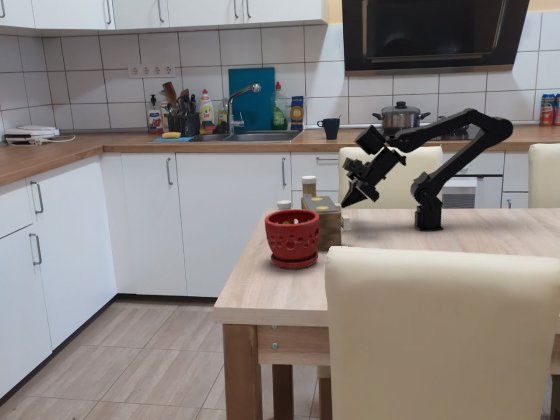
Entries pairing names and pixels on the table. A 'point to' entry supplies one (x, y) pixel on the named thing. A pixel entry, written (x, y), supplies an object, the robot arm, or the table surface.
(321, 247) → the button box
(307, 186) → the sprinkles bottle
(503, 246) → the table surface
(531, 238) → the table surface
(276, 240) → the plant pot
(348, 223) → the button
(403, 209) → the table surface
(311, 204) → the card
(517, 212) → the table surface
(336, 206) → the button
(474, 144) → the robot arm
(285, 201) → the supplement bottle
